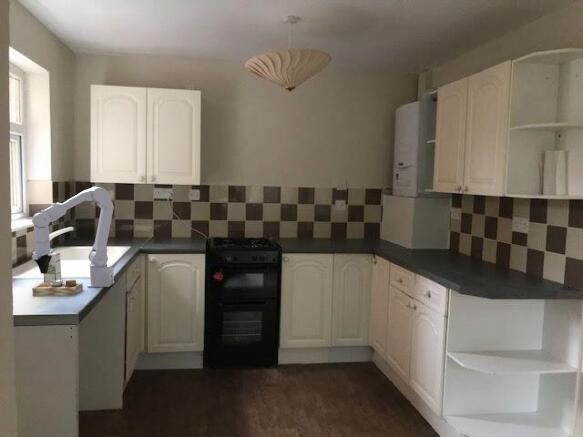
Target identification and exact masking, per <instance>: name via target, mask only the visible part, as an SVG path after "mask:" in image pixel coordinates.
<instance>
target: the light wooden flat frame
mask: <svg viewBox="0 0 583 437" xmlns="http://www.w3.org/2000/svg"><path fill="white" fill-rule="evenodd" d="M83 285H84V284H83V282H76V286H75V287H66V282H63V286H62V287H53V283H50V286H49V287H40V286H39V284H38V285H36V286H34V287H33V288H32V290H31V291H32V296H75V295H77V294H78V293H79V291H80V292H81V291H83V288H84V286H83ZM76 293H77V294H76Z"/></svg>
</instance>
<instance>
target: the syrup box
mask: <svg viewBox="0 0 583 437" xmlns="http://www.w3.org/2000/svg"><path fill="white" fill-rule="evenodd" d="M49 255H51V256H52V258H51V260H50V263H49V267H48V272H47V273H46V274H43V283H52V281H54V280H63V279H62V264H61V252H60V251H53V253H52V254H48V256H49Z"/></svg>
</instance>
